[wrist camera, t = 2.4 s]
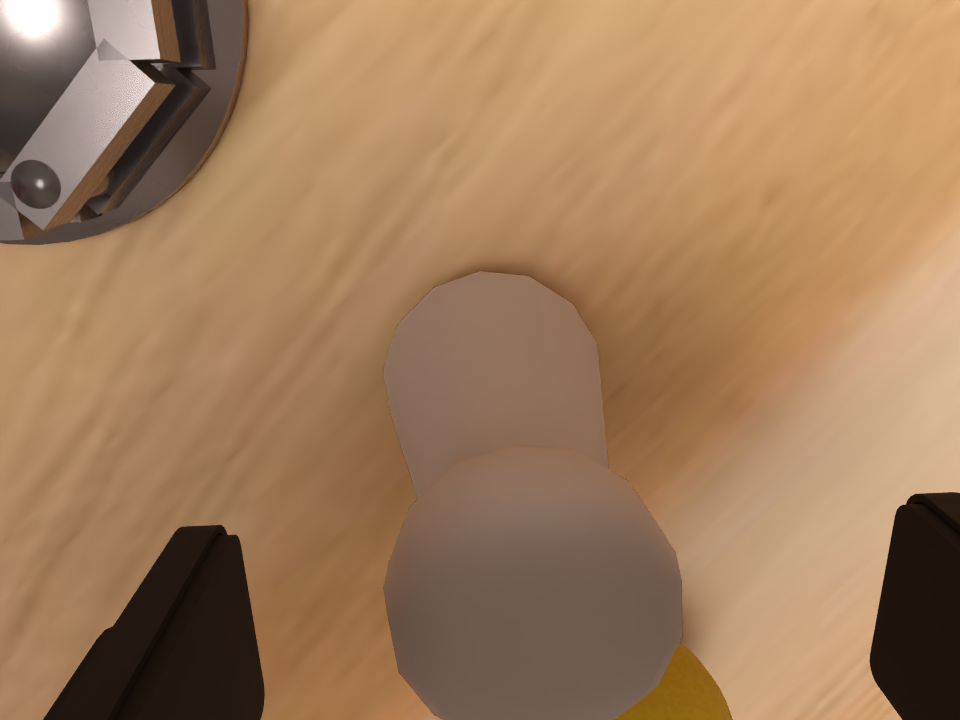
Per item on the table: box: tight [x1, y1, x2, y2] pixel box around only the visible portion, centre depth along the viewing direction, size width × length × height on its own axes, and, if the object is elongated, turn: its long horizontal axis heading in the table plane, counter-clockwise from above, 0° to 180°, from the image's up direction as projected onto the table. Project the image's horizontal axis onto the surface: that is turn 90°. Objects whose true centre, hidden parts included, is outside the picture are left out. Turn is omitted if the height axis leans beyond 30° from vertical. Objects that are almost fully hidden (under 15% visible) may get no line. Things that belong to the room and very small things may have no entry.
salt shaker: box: [383, 271, 682, 720], centre depth 16 cm, size 6×6×13 cm
